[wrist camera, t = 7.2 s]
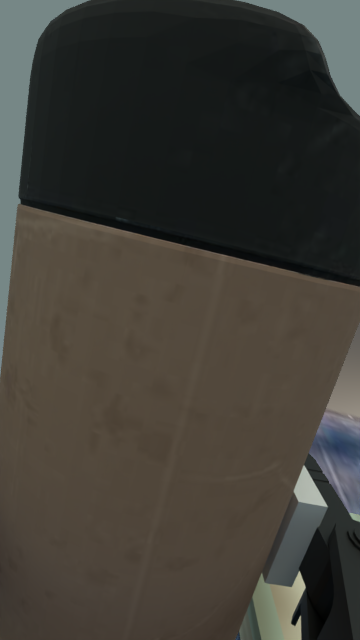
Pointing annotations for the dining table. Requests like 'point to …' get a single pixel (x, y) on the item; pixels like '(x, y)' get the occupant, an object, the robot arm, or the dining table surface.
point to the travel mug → (169, 313)
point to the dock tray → (274, 610)
